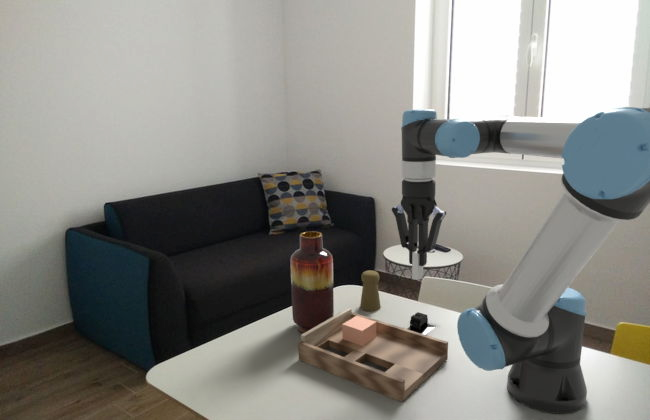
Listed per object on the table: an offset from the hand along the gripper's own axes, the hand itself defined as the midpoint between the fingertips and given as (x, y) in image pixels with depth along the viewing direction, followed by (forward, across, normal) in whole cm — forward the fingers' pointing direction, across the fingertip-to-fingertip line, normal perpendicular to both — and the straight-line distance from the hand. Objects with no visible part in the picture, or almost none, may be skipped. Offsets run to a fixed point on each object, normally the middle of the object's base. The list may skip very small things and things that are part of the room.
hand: (417, 277), depth 120 cm
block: (+16, +13, +6) cm, 22 cm away
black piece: (+19, +5, -10) cm, 22 cm away
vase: (+18, +28, +5) cm, 34 cm away
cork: (+18, +23, -15) cm, 33 cm away
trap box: (+19, +6, +10) cm, 22 cm away
